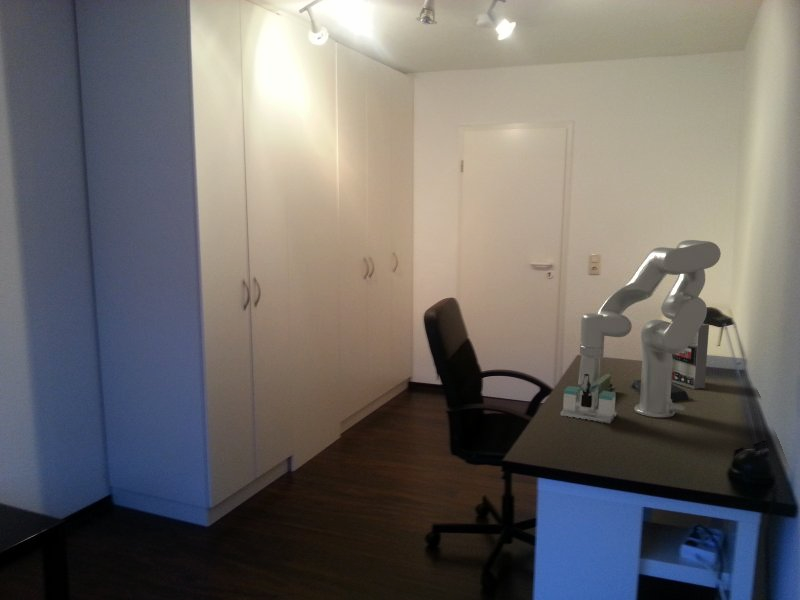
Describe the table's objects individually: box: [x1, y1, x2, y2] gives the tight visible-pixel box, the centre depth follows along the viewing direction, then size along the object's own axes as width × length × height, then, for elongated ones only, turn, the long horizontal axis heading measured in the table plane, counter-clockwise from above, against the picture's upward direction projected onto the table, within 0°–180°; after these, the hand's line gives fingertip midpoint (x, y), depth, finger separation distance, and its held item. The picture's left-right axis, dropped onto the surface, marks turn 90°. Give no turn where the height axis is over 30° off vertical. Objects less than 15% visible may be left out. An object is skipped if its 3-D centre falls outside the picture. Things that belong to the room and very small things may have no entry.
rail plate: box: [560, 385, 617, 424], centre depth 213 cm, size 16×10×8 cm, turn 60°
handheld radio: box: [597, 373, 613, 402], centre depth 237 cm, size 7×3×25 cm
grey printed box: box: [671, 323, 710, 390], centre depth 252 cm, size 14×6×25 cm, turn 23°
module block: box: [579, 384, 599, 410], centre depth 213 cm, size 4×6×7 cm
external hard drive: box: [629, 379, 691, 402], centre depth 240 cm, size 13×19×4 cm
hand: (588, 403), depth 213 cm, fingers closed on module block, 6 cm apart
